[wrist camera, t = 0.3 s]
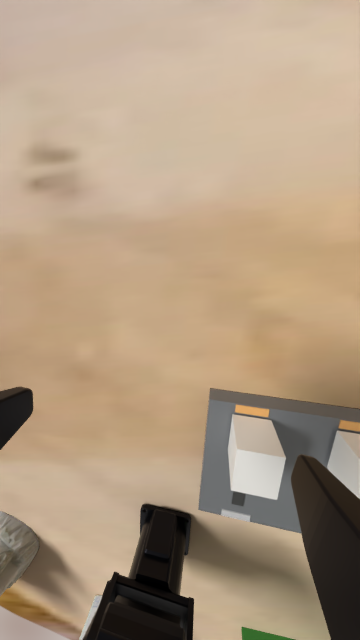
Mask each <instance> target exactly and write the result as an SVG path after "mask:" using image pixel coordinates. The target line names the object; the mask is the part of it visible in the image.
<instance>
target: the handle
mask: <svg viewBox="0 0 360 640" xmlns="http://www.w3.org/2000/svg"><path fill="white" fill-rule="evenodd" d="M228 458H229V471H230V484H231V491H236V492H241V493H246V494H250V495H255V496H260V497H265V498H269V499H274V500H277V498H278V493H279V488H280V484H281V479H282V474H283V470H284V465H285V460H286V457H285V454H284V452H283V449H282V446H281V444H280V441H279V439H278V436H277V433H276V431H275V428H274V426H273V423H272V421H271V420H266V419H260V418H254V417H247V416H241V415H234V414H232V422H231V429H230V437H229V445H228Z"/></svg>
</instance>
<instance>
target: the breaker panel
mask: <svg viewBox="0 0 360 640" xmlns="http://www.w3.org/2000/svg"><path fill="white" fill-rule="evenodd" d="M232 414H234V415H241V416H247V417H254V418H260V419H266V420H271V421H272V423H273V426H274V428H275V431H276V433H277V436H278V439H279V441H280V444H281V446H282V449H283V452H284V454H285V457H286V460H285V465H284V470H283V474H282V479H281V484H280V488H279V493H278V498H277V500H274V499H269V498H265V497H260V496H255V495H250V494H246V493H241V492H236V491H231V484H230V471H229V458H228V445H229V437H230V429H231V422H232ZM337 431H343V432H350V433H356V434H360V409H354V408H347V407H340V406H333V405H326V404H319V403H312V402H304V401H297V400H290V399H283V398H276V397H269V396H261V395H254V394H247V393H240V392H233V391H226V390H218V389H211V388H210V394H209V404H208V414H207V424H206V434H205V444H204V454H203V464H202V474H201V484H200V495H199V510H201V511H206V512H210V513H214V514H219V515H222V516H226V517H230V518H235V519H239V520H244V521H248V522H254V523H258V524H262V525H267V526H271V527H275V528H280V529H284V530H289V531H293V532H297V533H301V528H300V524H299V519H298V514H297V509H296V505H295V500H294V495H293V490H292V486H291V474H292V471H293V468H294V465H295V462H296V459H297V457H298V455H300V454H303V455H307V456H311V457H314V458H316V459H317V460H318V461H319V462H320V463H321V464H322V465H324V466H325V467H326V468H327V466H328V462H329V458H330V455H331V451H332V447H333V443H334V440H335V436H336V432H337ZM327 469H328V468H327Z"/></svg>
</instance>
